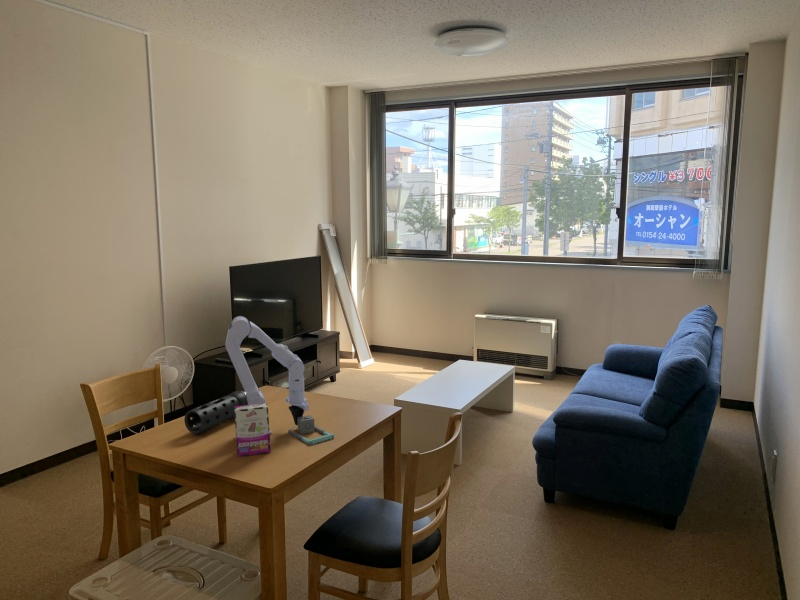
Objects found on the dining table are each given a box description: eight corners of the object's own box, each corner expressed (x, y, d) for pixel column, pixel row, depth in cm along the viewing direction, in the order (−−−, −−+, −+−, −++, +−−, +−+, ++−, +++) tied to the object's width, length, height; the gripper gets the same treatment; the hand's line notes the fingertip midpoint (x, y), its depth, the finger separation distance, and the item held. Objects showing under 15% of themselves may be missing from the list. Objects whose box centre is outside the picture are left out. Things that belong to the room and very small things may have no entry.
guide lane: (310, 445, 210) (309, 441, 210) (288, 432, 222) (288, 428, 222) (334, 438, 216) (334, 434, 216) (311, 426, 228) (311, 422, 228)
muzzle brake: (184, 435, 222) (182, 408, 221) (235, 412, 247) (234, 388, 246) (204, 438, 218) (202, 411, 216) (253, 415, 243) (252, 390, 241)
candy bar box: (269, 447, 208) (267, 402, 206) (270, 453, 203) (268, 406, 201) (236, 451, 205) (234, 405, 203) (236, 457, 200) (234, 410, 198)
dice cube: (301, 434, 220) (301, 421, 220) (297, 429, 225) (297, 417, 224) (314, 431, 223) (314, 419, 222) (310, 427, 227) (310, 415, 226)
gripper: (315, 391, 221) (317, 426, 223) (296, 383, 232) (297, 417, 234) (299, 395, 217) (300, 431, 219) (280, 387, 228) (281, 421, 230)
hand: (298, 424), depth 226 cm, fingers closed
